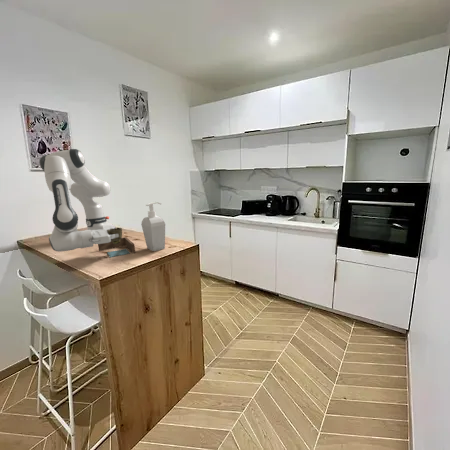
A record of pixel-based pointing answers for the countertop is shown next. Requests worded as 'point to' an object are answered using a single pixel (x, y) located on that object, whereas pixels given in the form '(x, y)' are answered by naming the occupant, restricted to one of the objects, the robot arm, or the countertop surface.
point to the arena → (110, 245)
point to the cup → (115, 231)
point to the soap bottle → (154, 229)
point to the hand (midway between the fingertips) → (117, 233)
